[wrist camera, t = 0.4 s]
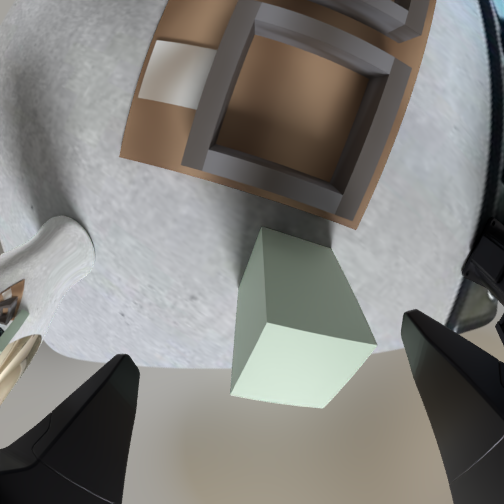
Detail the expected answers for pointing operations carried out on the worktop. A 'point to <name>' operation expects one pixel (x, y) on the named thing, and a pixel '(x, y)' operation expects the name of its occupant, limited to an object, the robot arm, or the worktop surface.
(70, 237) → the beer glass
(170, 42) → the socket board
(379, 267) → the worktop surface
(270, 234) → the sage peg
